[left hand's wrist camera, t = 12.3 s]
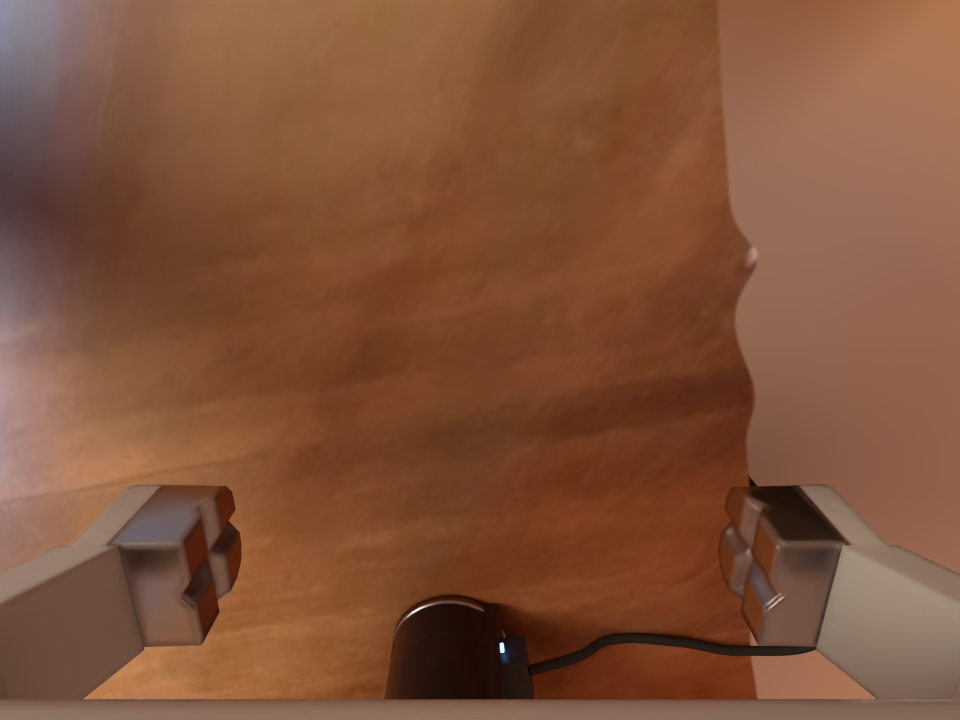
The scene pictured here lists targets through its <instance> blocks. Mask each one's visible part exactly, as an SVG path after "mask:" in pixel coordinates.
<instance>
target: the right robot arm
mask: <svg viewBox="0 0 960 720" xmlns="http://www.w3.org/2000/svg"><path fill="white" fill-rule="evenodd" d="M749 487H758V486H757V485H756V484H755V482H754V481H753V480H752V479H751V477H750V476H749ZM620 643H644V644H655V645H664V646H675V647H685V648H691V649H696V650H701V651H706V652H710V653H716V654H722V655H731V656H785V655H796V654H802V653H807V652H810V651H813V650H815V649H816V647H804V646H727V645H719V644H713V643H708V642H704V641H699V640H694V639H689V638H682V637H672V636H661V635H651V634H639V633H623V634H613V635H608V636H604V637H601V638H598V639H596V640H595V641H593V642H592V643H590V644H589V645H588V646H586V647H585V648H583V649H581V650H579V651H576V652H574V653H571V654H568V655H565V656H561V657H558V658H554V659H550V660H547V661H543V662H539V663H535V664H532V665H530V664H529V660H528V655H527V650H526V646H525V641H524V636H523V635H520V636H513V637H506V632H505V629H504V626H503V624H502V619H501V615H500V610H499V606H498V605H497V604H489V605H483V604H481V603H479V602H477V601H474V600H472V599H468V598H464V597H459V596H439V597H434V598H430V599H426V600H424V601H421V602H419V603H417V604H415V605H414V606H412V607H411V608H410V609H408V610H407V611H406V612H405V613H404V614H403V615H402V617H401V618H400V619H399V621H398V623H397V625H396V628H395V631H394V637H393V647H392V653H391V662H390V668H389V675H388V681H387V687H386V693H385V699H534V688H533V678H532V675H535V674H539V673H543V672H546V671H550V670H554V669H558V668H561V667H565V666H568V665H571V664H574V663H577V662H579V661H582V660H584V659H586V658H588V657H590V656H591V655H593V654H594V653H595V652H596V651H598V650H599V649H601V648H603V647H605V646H609V645H614V644H620Z"/></svg>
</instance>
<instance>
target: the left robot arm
mask: <svg viewBox="0 0 960 720" xmlns="http://www.w3.org/2000/svg"><path fill="white" fill-rule="evenodd" d="M234 511H235V504H234V499H233V494H232V491H231V490H230V489H229V488H228V487H227V486H197V485H134V486H130V487H128V488H127V489H126V490H125V491H124V492H123V493H122V494H121V495H120V496H119V497H118V498H117V499H116V500H115V501H114V502H113V503H112V504H111V505H110V506H109V507H108V508H107V510H106V511H105V512H104V513H103V514H102V515H101V516H100V517H99V518H98V519H97V520H96V521H95V522H94V523H93V524H92V525H91V526H90V527H89V528H88V529H87V530H86V531H85V532H84V533H83V534H82V535H81V536H80V537H79V539H78V540H77V541H76V542H75V543H74V544H73V545H70V546H59V547H57V548H55V549H53V550H51V551H49V552H47V553H44V554H42V555H40V556H38V557H36V558H34V559H31V560H29V561H27V562H25V563H23V564H21V565H19V566H16V567H14V568H12V569H10V570H8V571H6V572H3V573H1V574H0V720H960V574H959V573H956V572H954V571H952V570H950V569H948V568H946V567H944V566H941V565H939V564H937V563H935V562H933V561H931V560H928V559H926V558H924V557H922V556H920V555H918V554H916V553H913V552H911V551H909V550H907V549H905V548H903V547H901V546H890V545H887V544H886V543H885V542H884V541H883V540H882V538H881V537H880V536H879V535H878V534H877V533H876V532H875V531H874V530H873V529H872V528H871V527H870V526H869V525H868V524H867V523H866V522H865V521H864V520H863V519H862V518H861V517H860V516H859V515H858V514H857V513H856V511H854V509H853V508H852V507H851V506H850V505H849V504H848V503H847V502H846V501H845V500H844V499H843V498H842V497H841V496H840V495H839V494H838V493H837V492H836V491H835V490H834V489H833V488H832V487H830V486H827V485H825V484H817V485H793V486H759V487H731V488H730V490H729V492H728V495H727V498H726V503H725V511H726V512H727V514H728V516H729V517H730V519H731V522H730V523H729V524H728V525H727V526H726V527H725V528H724V529H723V530H722V531H721V533H720V540H719V548H718V552H719V563H720V569H721V572H722V576H723V579H724V581H725V583H726V585H727V587H728V589H729V591H730V592H732V593H733V594H735V595H736V596H738V597H739V598H741V599H742V600H743V601H742V607H741V614H742V616H743V617H744V619H745V621H746V623H747V625H748V627H749V629H750V630H751V632H752V634H753V636H754V638H755V640H756V642H757V643H758V645H768V646H804V647H816V650H817V651H818V652H820V653H821V654H822V655H823V656H825V657H826V658H827V659H828V660H830V661H831V662H832V663H833V664H835V665H836V666H837V667H838V668H839V669H841V670H842V671H843V672H844V673H846V674H847V675H848V676H849V677H851V678H852V679H853V680H854V681H856V682H857V683H858V684H859V685H860V686H862V687H863V688H864V689H865V690H867V691H868V692H869V693H870V694H872V695H873V696H874V697H875V698H877V699H84V698H85V697H86V696H87V695H89V694H90V693H91V692H92V691H94V690H95V689H96V688H97V687H98V686H100V685H101V684H102V683H103V682H105V681H106V680H107V679H108V678H110V677H111V676H112V675H113V674H115V673H116V672H117V671H118V670H120V669H121V668H122V667H123V666H125V665H126V664H127V663H128V662H130V661H131V660H132V659H133V658H135V657H136V656H137V655H138V654H140V653H141V652H142V651H143V650H144V647H156V646H190V645H202V644H203V642H204V640H205V638H206V636H207V634H208V632H209V631H210V629H211V627H212V625H213V623H214V621H215V619H216V617H217V616H218V614H219V607H218V601H217V600H218V599H219V598H221V597H222V596H224V595H225V594H227V593H228V592H230V591H231V589H232V587H233V585H234V583H235V581H236V579H237V576H238V572H239V567H240V563H241V539H240V533H239V531H238V530H237V529H236V528H235V527H234V526H233V525H232V524H231V523H230V522H229V519H230V517H231V516H232V514H233V512H234Z"/></svg>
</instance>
